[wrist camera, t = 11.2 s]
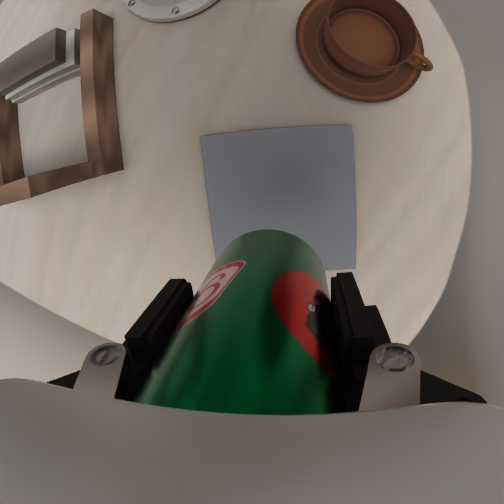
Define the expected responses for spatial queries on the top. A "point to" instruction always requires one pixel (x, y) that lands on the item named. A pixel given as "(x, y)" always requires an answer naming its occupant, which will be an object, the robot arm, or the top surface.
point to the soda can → (254, 336)
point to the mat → (285, 187)
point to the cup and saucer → (361, 47)
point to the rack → (47, 76)
